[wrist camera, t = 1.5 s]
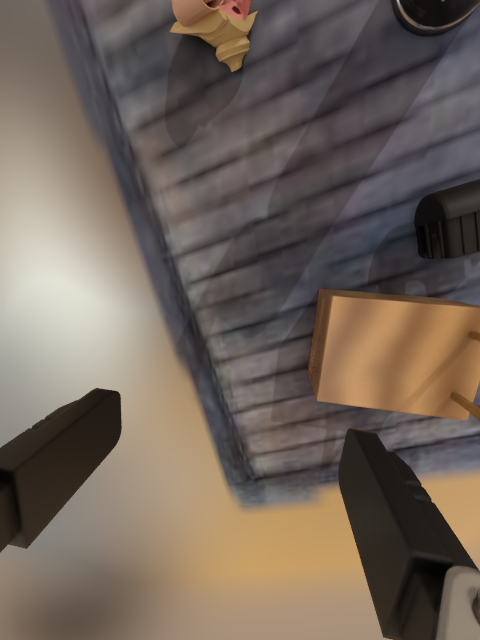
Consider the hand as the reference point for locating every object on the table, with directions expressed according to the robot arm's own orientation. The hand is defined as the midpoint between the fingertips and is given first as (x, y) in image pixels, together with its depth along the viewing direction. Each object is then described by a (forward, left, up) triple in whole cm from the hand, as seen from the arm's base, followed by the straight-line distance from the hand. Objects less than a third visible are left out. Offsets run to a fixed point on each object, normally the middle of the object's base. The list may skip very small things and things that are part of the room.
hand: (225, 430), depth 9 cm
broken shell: (-15, -29, -28) cm, 43 cm away
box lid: (-9, +13, -21) cm, 26 cm away
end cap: (-25, +6, -28) cm, 38 cm away
